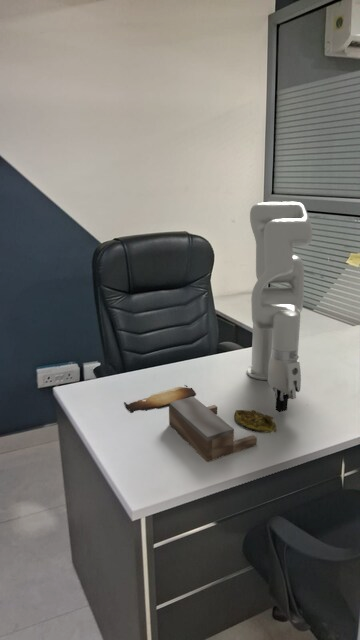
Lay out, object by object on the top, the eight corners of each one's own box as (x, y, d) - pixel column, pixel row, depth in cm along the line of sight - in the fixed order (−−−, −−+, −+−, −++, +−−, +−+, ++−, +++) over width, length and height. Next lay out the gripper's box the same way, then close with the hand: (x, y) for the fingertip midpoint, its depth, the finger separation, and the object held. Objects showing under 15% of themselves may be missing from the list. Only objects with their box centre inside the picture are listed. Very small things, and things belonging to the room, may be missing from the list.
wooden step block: (214, 412, 146) (214, 390, 144) (256, 445, 129) (257, 421, 127) (169, 424, 139) (168, 402, 137) (207, 462, 122) (207, 437, 120)
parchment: (186, 385, 165) (186, 382, 165) (202, 395, 157) (202, 393, 157) (121, 404, 153) (120, 402, 153) (135, 417, 145) (134, 414, 145)
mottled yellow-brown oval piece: (224, 423, 143) (266, 441, 133) (223, 409, 141) (266, 427, 131) (244, 409, 149) (285, 426, 139) (243, 396, 147) (285, 412, 137)
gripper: (312, 359, 135) (308, 418, 140) (278, 343, 147) (275, 397, 153) (291, 364, 131) (288, 424, 137) (258, 347, 144) (256, 403, 149)
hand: (281, 410), depth 145 cm, fingers closed
